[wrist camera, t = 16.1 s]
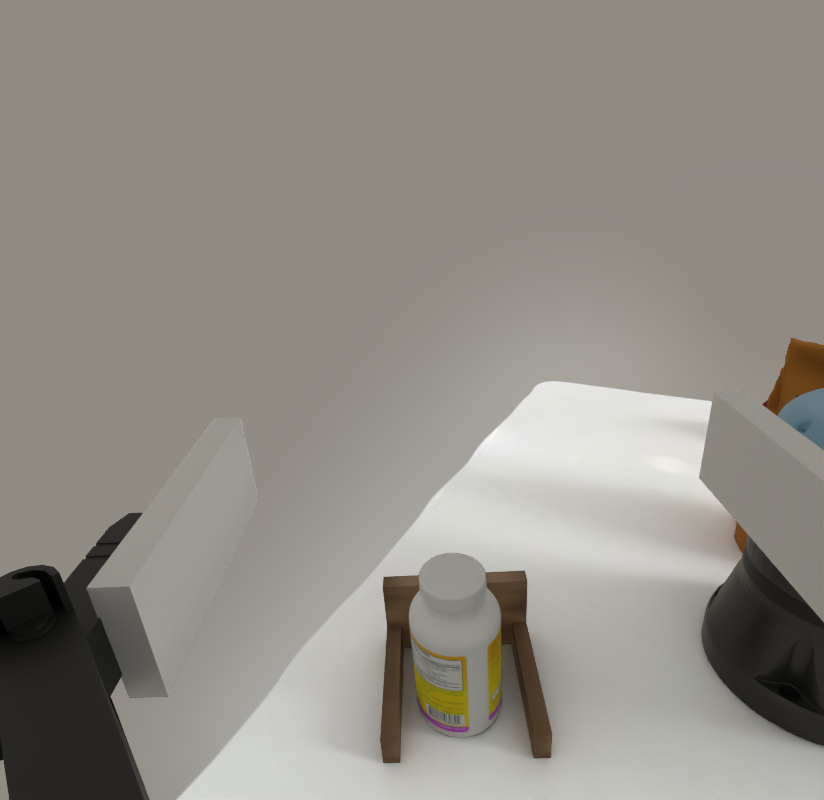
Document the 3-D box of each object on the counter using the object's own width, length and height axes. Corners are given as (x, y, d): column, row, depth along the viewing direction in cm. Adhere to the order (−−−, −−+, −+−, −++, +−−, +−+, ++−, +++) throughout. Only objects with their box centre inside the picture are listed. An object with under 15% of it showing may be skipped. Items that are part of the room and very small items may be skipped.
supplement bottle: (479, 655, 48) (476, 533, 42) (517, 723, 42) (519, 591, 36) (405, 681, 46) (392, 557, 40) (435, 755, 40) (424, 622, 35)
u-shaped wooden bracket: (522, 632, 49) (524, 570, 47) (550, 757, 39) (554, 688, 36) (390, 637, 50) (383, 576, 47) (383, 763, 40) (374, 695, 37)
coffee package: (731, 505, 64) (770, 322, 55) (866, 534, 58) (934, 334, 49) (726, 557, 57) (770, 353, 48) (881, 597, 51) (964, 373, 42)
